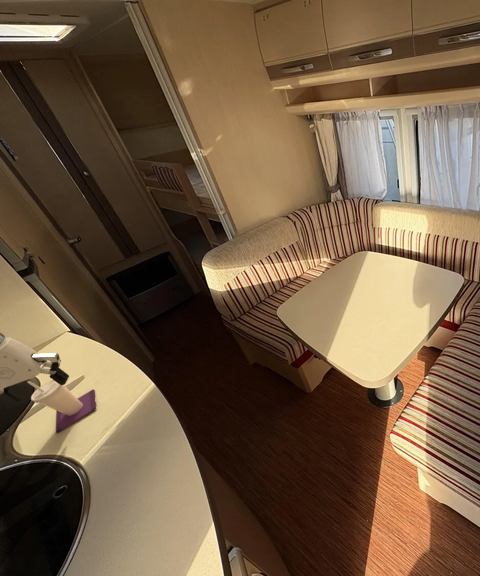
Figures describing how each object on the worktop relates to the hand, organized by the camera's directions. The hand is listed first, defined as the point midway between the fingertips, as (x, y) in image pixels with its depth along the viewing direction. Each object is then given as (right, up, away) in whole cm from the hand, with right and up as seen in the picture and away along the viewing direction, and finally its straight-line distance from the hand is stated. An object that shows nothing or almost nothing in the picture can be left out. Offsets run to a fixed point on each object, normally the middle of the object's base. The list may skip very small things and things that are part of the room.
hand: (44, 388), depth 79 cm
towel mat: (+2, -8, +7) cm, 11 cm away
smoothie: (+2, -8, +6) cm, 10 cm away
